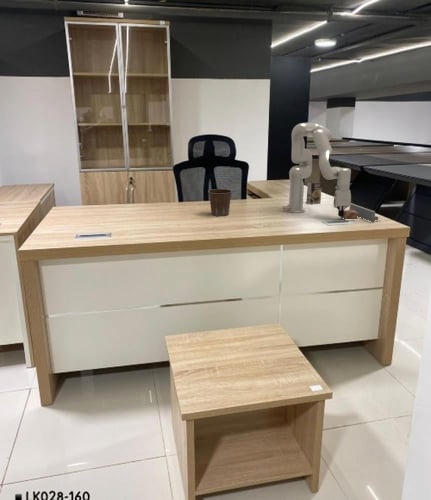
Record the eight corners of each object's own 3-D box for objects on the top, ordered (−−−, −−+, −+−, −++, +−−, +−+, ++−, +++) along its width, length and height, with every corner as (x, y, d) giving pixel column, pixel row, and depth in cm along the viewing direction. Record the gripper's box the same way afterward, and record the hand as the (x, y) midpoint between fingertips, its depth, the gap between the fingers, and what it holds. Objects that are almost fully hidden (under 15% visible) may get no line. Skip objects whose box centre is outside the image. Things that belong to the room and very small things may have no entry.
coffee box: (310, 204, 322) (312, 183, 317) (305, 203, 327) (307, 182, 322) (320, 203, 325) (322, 182, 320) (315, 202, 331) (317, 181, 326)
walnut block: (345, 220, 274) (345, 212, 273) (340, 217, 281) (341, 210, 279) (356, 220, 275) (357, 212, 274) (352, 217, 282) (353, 210, 280)
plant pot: (229, 217, 281) (229, 193, 277) (206, 216, 285) (205, 192, 280) (233, 212, 297) (233, 189, 292) (211, 211, 300) (210, 188, 295)
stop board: (371, 222, 268) (372, 211, 266) (349, 213, 292) (350, 203, 290) (379, 222, 269) (380, 211, 267) (356, 213, 293) (357, 203, 291)
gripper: (335, 189, 265) (333, 218, 270) (356, 188, 268) (354, 216, 274) (329, 187, 272) (327, 215, 277) (350, 186, 275) (347, 214, 281)
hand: (340, 216), depth 276 cm, fingers closed
